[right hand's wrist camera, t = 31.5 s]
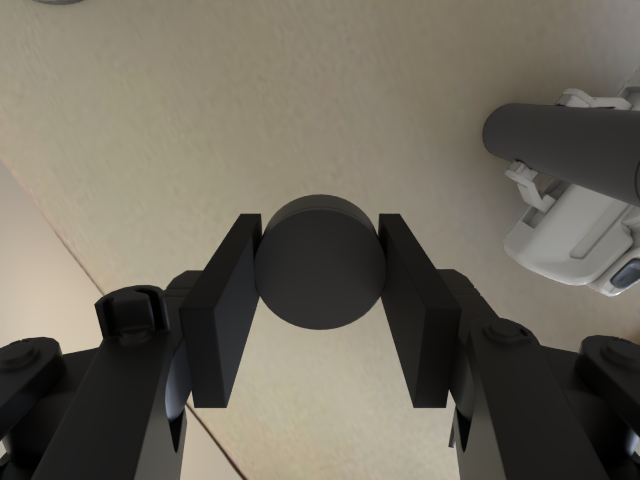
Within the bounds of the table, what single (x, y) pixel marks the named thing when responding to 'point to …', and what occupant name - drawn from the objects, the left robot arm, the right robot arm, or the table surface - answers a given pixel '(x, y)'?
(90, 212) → the table surface
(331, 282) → the cap
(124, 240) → the table surface
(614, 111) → the bottle
